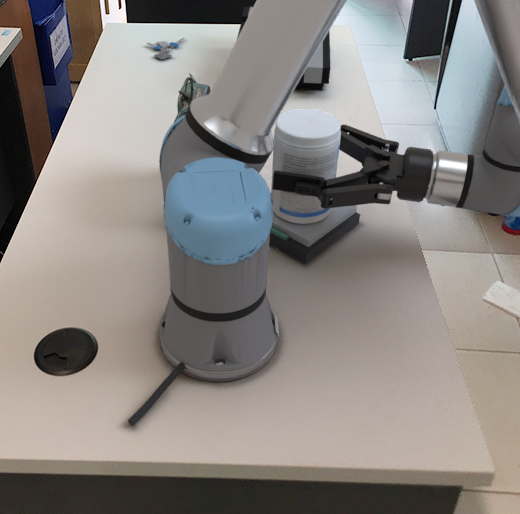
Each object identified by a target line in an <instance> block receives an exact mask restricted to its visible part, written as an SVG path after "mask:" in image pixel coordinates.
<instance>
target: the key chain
mask: <svg viewBox="0 0 520 514" xmlns="http://www.w3.org/2000/svg"><path fill="white" fill-rule="evenodd" d="M184 40H185V37H182V38H180V39H179V40H177V41H176V42H173V41H171V42H169V44H168V43H166V42H165V41H156V44H158V45H156V44H154V43H150V42H146V45H148V46H151V47H152V49H155V50H160V51H161V52H159V53H156V54H154V57H156V58H158V59H159V60H165V59H169V58H172V57H173V55H172V54H170V53H168V52H170V51H171V49H173V48H179V47H180V44H179V43H181V42H182V41H184ZM170 46H171V47H170Z"/></svg>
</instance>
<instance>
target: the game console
mask: <svg viewBox="0 0 520 514" xmlns="http://www.w3.org/2000/svg"><path fill="white" fill-rule="evenodd" d="M253 7H254V6H244V7H243V10H242V14H241V22H240V25H239V29H238V34H237V37H236V39H237V38H238V36H239V34H240V32H241V30H242V28H243V26H244V24H245V22H246V21H247V19H248V17H249V15H250V13H251V11H252V9H253ZM330 74H331V34H330V31H329V32H328V33H327V35H326V37H325V38H324V40H323V42H322V43H321V45H320V47H319V49H318V50H317V52H316V54H315V55H314V57H313V59H312V60H311V62H310V64H309V66H308V67H307V69H306V71H305V72H304V74H303V76H302V77H301V79H300V81H299V83H298V84H297V86H296V88H295V89H294V90H309V91H310V90H311V91H323V88H324V85H325V84H326V85H328V84H329V83H330V76H331V75H330Z"/></svg>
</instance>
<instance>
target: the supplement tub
mask: <svg viewBox="0 0 520 514" xmlns="http://www.w3.org/2000/svg"><path fill="white" fill-rule="evenodd" d="M341 125H342V124H341V121H340V119H339V118H338V117H337V116H336V115H334V114H332V113H331V112H328V111H325V110H322V109H317V108H295V109H290V110H288V111H284V112H282V113H280V115H279V117H278V118H277V120H276V122H275V126H274V132H273V140H274V144H275V147H274V149H273V151H272V169H271V190H270V193H271V203H272V208H273V211H274V213H275V214H276V215H277V216H279V217H280V218H282V219H284V220H286V221H289V222H292V223H297V224H309V223H314V222H318V221H320V220H322V219H324V218H325V217H326V216H327V215H328V214H329V213H330V211H331V208H327V209H324V208H322V207H321V202H320V200H319V199H318V197H314V196H308V195H303V194H302V195H301V194H297V193H293V192H286V191H279V190H273V175H274V171H275V170H277V171H284V172H291V173H297V174H304V175H311V176H318V177H323V178H325V179H326V180H329V179H333V178H336V177H337V169H338V162H339V153H340V150H339V147H340V138H341V131H340V129H341ZM330 200H332V199H330Z"/></svg>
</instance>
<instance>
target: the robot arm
mask: <svg viewBox="0 0 520 514" xmlns="http://www.w3.org/2000/svg"><path fill="white" fill-rule="evenodd" d="M347 2H348V1H347V0H256V1H255V3H254V4H253V6H252V7H253V9H252V11H251V13H250V15H249V17H248V19H247V21H246V22H245V24H244V26H243V28H242V30H241V32H240V34H239V36H238V35H237V37H238V38H237V37H236V40H235V42H234V44H233V47H231V50H230V53H229V54H228V56H227V59H226V60H225V62H224V65H223V66H222V68H221V69H220V70H221V71H220V72H219V73H218V75H217V78H216V80H215V83H214V84H213V86H212V88H211V92H210V94H208V95H204V96H200V97H197V98H195V99H194V100H193V101H192V102H191V104H190V106H189V108H188V110H187V112H186V114H185V115H183V116H181V117H180V118H179V119H177V120H176V121H175V120H174V121H175V122H174V121H173V123H172V124H171V125H170V127H169V128H168V129H167V131H166V133H165V134H164V136H163V137H164V138H163V140H162V143H161V146H160V147H161V148H160V150H159V158H158V163H159V174H160V178H161V183H162V184H161V186H162V197H163V209H162V210H163V219H164V225H165V228H166V241H167V255H168V256H167V257H168V269H169V283H170V285H169V286H170V295H169V298H168V301H167V304H166V306H165V309H164V312H163V314H162V318H161V319H160V324H159V340H160V347H161V351H162V353H163V355H164V357H165V358H166V360H167V362H168V363H169V364H170V365H171V366H172V367H173V370H171V372H170V373H169V375H167V377H166V378H165V379H164V380H163V381H162V382H161V383H160V384H159V386H158V387H156V389H155V390H154V391H153V392H152V394H151V395H150V396H149V397H148V399H146V401H145V402H144V403H143V404H142V405H141V407H139V408H138V409H137V410H136V411H135V413H133V414H132V415H131V416H130V417H129V418H128V419H127V422H128V424H129V425H131V426H133V427H134V426H135V425H136V424H137V423H138V422H139V421H140V420H141V419H142V418H143V417H144V416H145V415H146V414H147V413H148V412H149V411H150V409H151V408H152V407H153V406H154V405H155V404H156V402H157V401H159V399H160V398H161V396H162V395H163V394H164V393H165V392H166V390H167V389H168V388H169V387H170V386H171V385H172V383H174V381H175V380H176V379H177V378H178V377H179V376H180V375H181V373H182V374H184V375H186V376H189V377H191V378H193V379H197V380H201V381H206V382H215V383H217V382H218V383H219V382H220V383H221V382H230V381H236V380H240V379H244V378H246V377H249V376H251V375H253V374H255V373H256V372H258V371H259V370H261V369H262V368H263V367H264V366H266V365H267V363H269V362H270V360H271V358H272V357H273V355H274V353H275V351H276V347H277V341H278V337H280V329H279V328H280V327H279V318H278V316H277V314H276V312H275V311H273V310H272V307H271V303H270V301H269V297H268V295H267V282H268V281H267V280H268V268H269V256H270V255H269V253H270V244H269V241H270V229H271V227H272V219H273V208H272V203H271V194H270V193H271V190H270V188H269V185H268V183H267V181H266V180H265V179H264V177H263V176H262V175H261V174H260V173H261V171H262V170H263V169H264V166H265V165H266V163H267V162H268V160H269V158H270V156H271V154H273V149H274V147H275V144H274V135H273V133H272V129H273V127H274V125H275V124H276V120H277V118H278V117H279V116H280V115H281V114H282V111H283V110H284V109H285V106H286V105H287V104H288V101H289V100H290V98H291V97H292V94H293V93H294V91H295V90H296V89H295V88H296V86H297V84H298V83H299V81H300V79H301V77H302V76H303V74H304V72H305V71H306V69H307V67H308V66H309V64H310V62H311V60H312V59H313V57H314V55H315V54H316V52H317V50H318V49H319V47H320V45H321V43H322V42H323V40H324V38H325V37H326V35H327V33H328V32H330V30H331V28H332V27H333V25H334V23H335V21H336V19H337V18H338V16H339V14H340V13H341V11H342V9H343V8H344V6H345V4H346V3H347ZM473 2H474V4H475V7H476V9H477V12H478V14H479V18H480V21H481V23H482V26H483V29H484V31H485V34H486V37H487V39H488V42H489V45H490V48H491V51H492V53H493V56H494V59H495V62H496V64H497V66H498V70H499V73H500V76H501V78H502V81H503V84H504V86H503V89H502V91H501V92H500V93H501V94H500V96H499V99H498V100H497V101H496V104H495V105H496V106H495V109H494V113H493V117H492V119H491V123H490V127H489V130H488V133H487V137H486V141H485V144H484V146H483V149H482V153H481V155H479V154H478V155H477V154H468V153H462V152H454V151H448V150H447V151H446V150H438V151H436V153H434V151H433V150H432V149H430V148H429V149H428V148H422V147H416V146H415V147H414V146H408V147H407V148H406V149H405V151H404V153H403V154H400V153H398V152H399V146H400V142H398V141H395V140H390V139H385V138H382V137H379V136H377V135H374V134H372V133H369V132H366V131H364V130H361V129H359V128H355V127H353V126H351V125H348V124H341V129H340V131H341V138H340V147H339V151H341V152H342V153H344V154H346V155H347V156H349V157H351V158H352V159H354V160H356V162H358V163H360V164H361V166H362V168H361V169H360V170H359V171H356V172H352V173H349V174H344V175H340V176H336V178H333V179H329V180H326V179H325V178H323V177H318V176H311V175H304V174H297V173H291V172H284V171H277V170H275V171H274V175H273V190H279V191H286V192H293V193H297V194H301V195H302V194H303V195H308V196H314V197H318V199H319V200H320V202H321V207H322V208H324V209H327V208H336V207H345V206H353V205H355V206H361V205H362V206H363V205H370V204H378V205H389V204H391V200H392V197H393V192H396V198H397V199H398V200H401V201H407V202H415V203H421V202H423V201H424V199H425V201H426V203H427V204H430V205H436V206H441V207H452V208H456V209H463V210H470V211H475V212H480V213H489V214H493V215H500V216H501V217H513V218H515V217H516V218H520V0H473ZM330 199H332V200H330ZM273 312H274V313H273Z"/></svg>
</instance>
